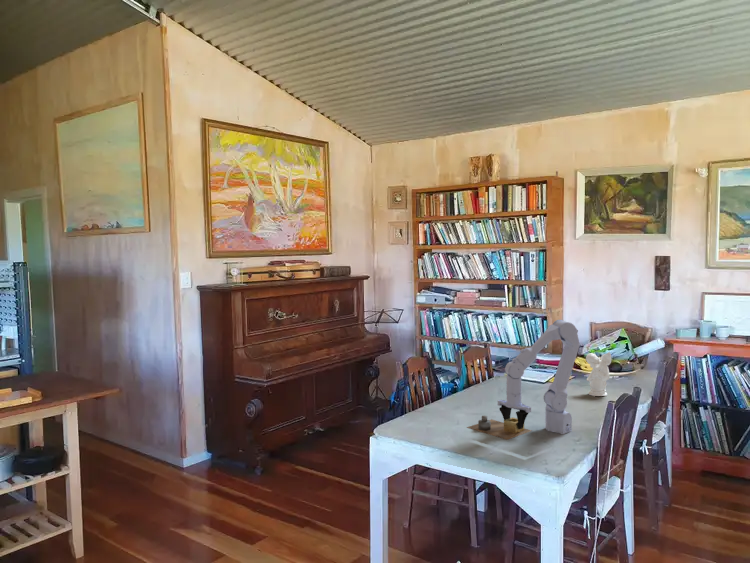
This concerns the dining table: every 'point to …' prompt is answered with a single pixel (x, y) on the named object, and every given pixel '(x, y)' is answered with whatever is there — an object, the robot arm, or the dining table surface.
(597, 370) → the cherub figurine
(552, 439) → the dining table surface
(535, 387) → the dining table surface
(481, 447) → the dining table surface
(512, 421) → the brass collar
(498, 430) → the peg board
